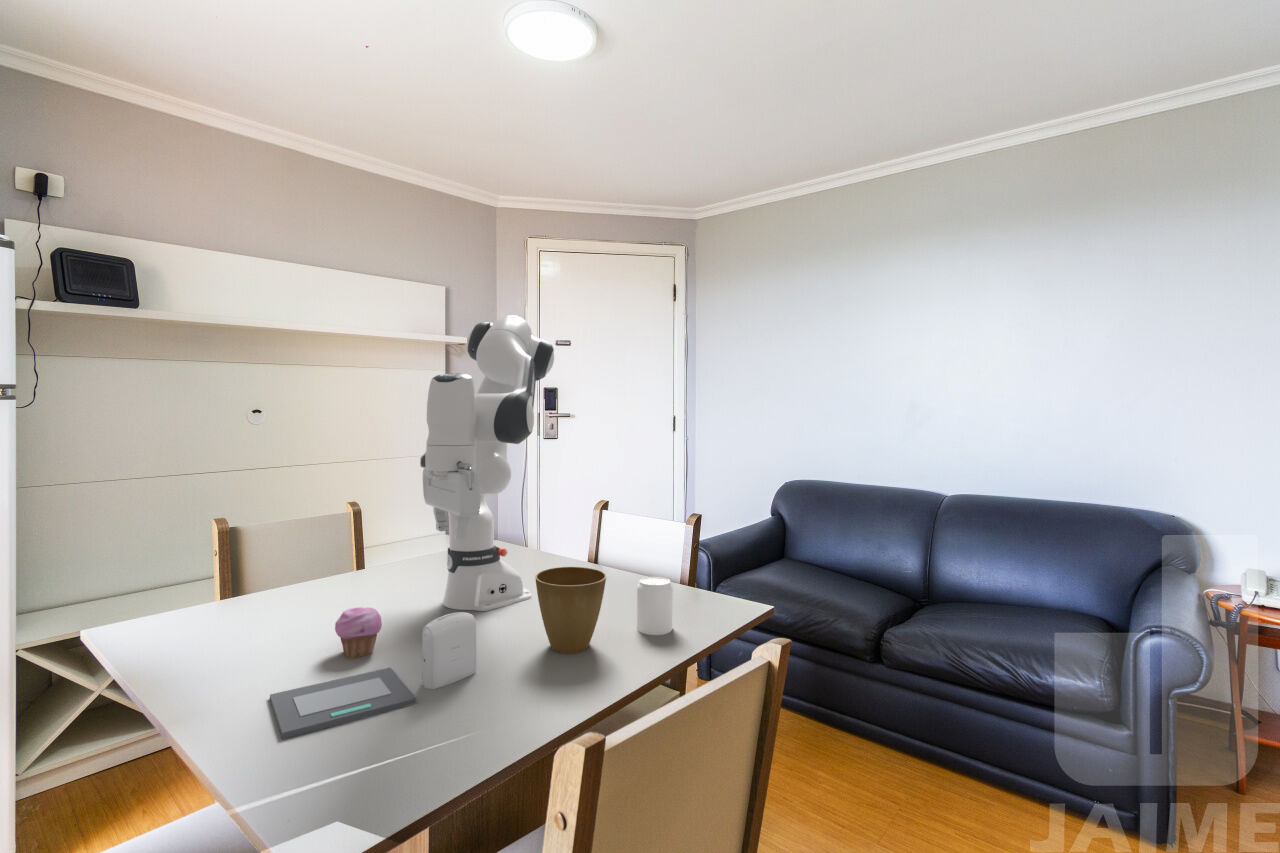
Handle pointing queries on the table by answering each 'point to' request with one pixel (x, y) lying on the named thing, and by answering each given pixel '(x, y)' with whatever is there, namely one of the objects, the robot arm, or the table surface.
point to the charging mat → (339, 701)
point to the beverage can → (654, 606)
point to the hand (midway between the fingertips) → (450, 534)
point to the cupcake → (358, 630)
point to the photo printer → (448, 649)
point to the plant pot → (570, 605)
